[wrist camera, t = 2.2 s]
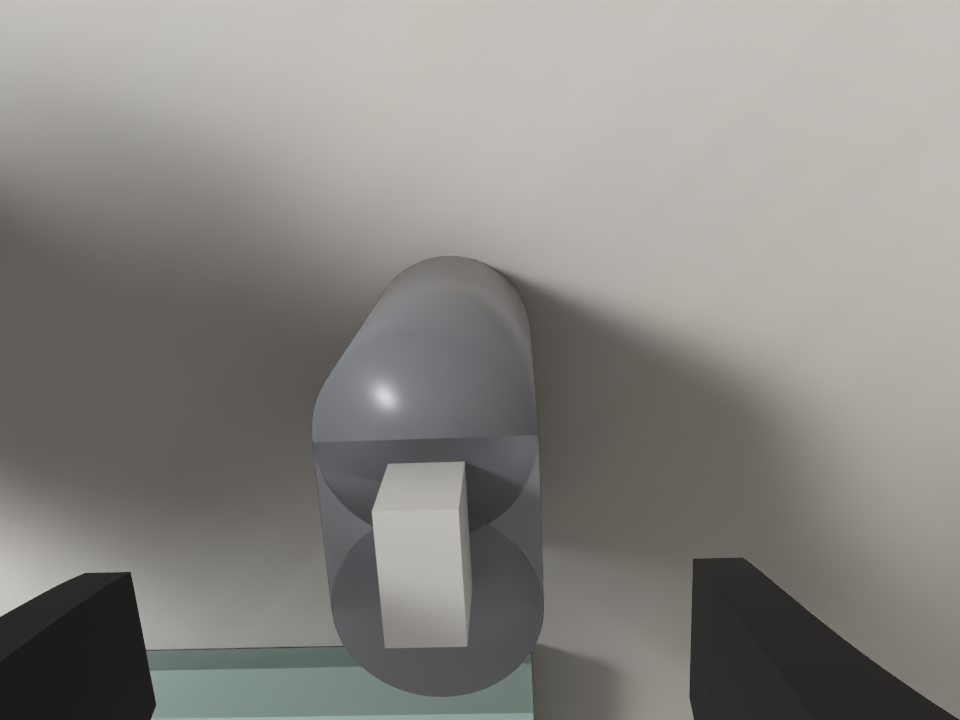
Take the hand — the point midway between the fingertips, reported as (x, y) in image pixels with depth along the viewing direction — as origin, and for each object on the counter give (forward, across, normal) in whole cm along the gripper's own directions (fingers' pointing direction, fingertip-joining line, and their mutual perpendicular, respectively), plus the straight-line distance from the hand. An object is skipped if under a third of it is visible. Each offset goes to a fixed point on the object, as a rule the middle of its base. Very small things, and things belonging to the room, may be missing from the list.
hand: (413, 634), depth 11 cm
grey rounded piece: (+9, 0, 0) cm, 9 cm away
